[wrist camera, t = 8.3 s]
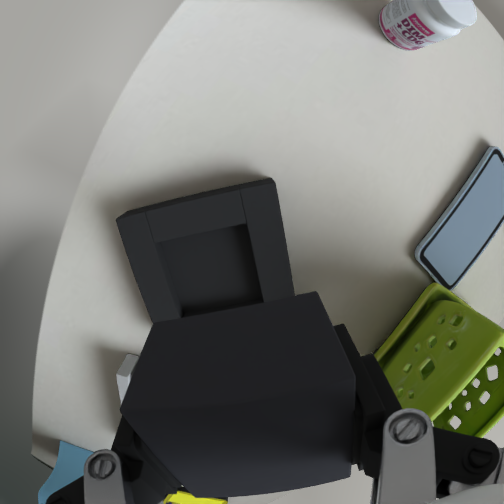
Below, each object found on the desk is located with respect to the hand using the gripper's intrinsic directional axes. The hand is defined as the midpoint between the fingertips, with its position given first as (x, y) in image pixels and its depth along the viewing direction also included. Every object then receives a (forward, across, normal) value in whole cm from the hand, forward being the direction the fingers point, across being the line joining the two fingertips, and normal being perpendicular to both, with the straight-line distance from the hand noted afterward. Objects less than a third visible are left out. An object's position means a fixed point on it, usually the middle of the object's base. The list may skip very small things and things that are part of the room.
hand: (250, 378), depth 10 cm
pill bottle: (+16, -17, -16) cm, 28 cm away
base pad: (+15, +3, +2) cm, 16 cm away
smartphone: (+16, -23, +2) cm, 28 cm away
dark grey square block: (0, 0, 0) cm, 0 cm away
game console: (+16, +23, +51) cm, 58 cm away
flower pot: (+16, -17, +16) cm, 28 cm away
